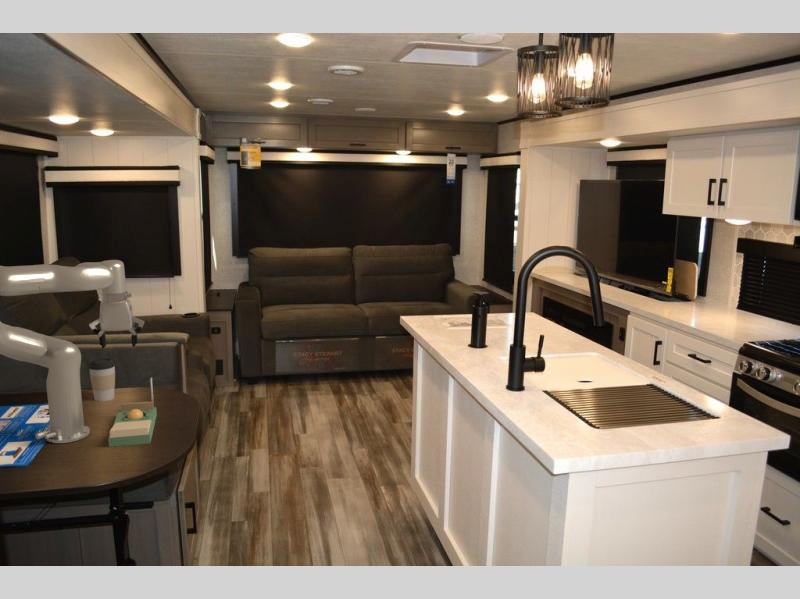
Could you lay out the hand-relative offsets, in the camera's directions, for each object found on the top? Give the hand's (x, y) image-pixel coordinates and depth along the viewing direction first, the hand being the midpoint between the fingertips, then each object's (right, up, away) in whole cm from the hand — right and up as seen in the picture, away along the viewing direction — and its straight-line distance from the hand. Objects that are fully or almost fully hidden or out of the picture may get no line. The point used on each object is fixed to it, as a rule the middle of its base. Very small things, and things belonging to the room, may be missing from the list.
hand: (119, 346), depth 218 cm
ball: (+7, -23, -2) cm, 24 cm away
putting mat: (+8, -27, -6) cm, 29 cm away
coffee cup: (-15, -21, +22) cm, 34 cm away
